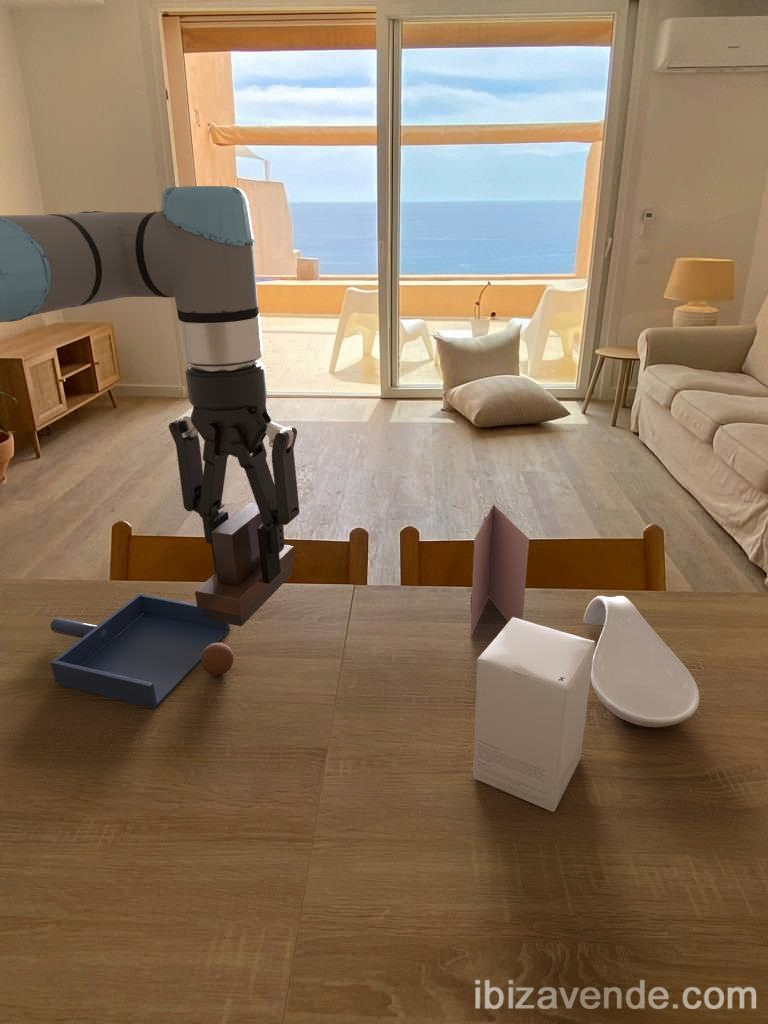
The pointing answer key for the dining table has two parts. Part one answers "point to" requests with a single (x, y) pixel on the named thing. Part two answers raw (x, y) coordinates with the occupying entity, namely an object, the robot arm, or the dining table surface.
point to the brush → (239, 570)
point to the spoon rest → (637, 668)
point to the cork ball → (217, 658)
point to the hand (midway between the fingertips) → (248, 572)
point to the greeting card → (499, 567)
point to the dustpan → (136, 650)
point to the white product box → (531, 711)
